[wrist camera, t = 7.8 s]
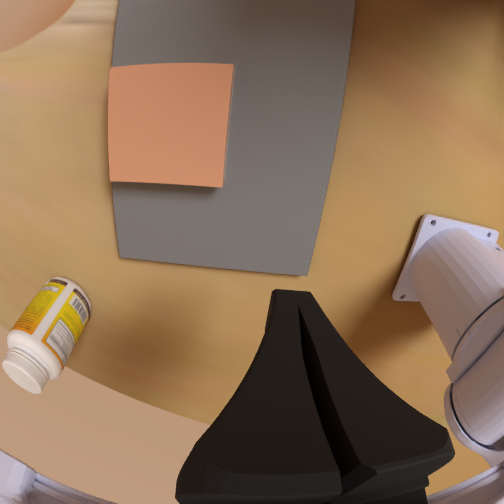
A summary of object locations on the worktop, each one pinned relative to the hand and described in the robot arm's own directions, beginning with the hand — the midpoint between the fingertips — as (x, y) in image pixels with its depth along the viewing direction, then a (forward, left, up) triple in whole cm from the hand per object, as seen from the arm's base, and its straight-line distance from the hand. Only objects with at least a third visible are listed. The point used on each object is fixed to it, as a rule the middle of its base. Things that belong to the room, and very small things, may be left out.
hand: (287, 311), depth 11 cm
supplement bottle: (+18, +11, -11) cm, 24 cm away
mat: (+4, -5, -10) cm, 12 cm away
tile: (+3, -5, -9) cm, 11 cm away
